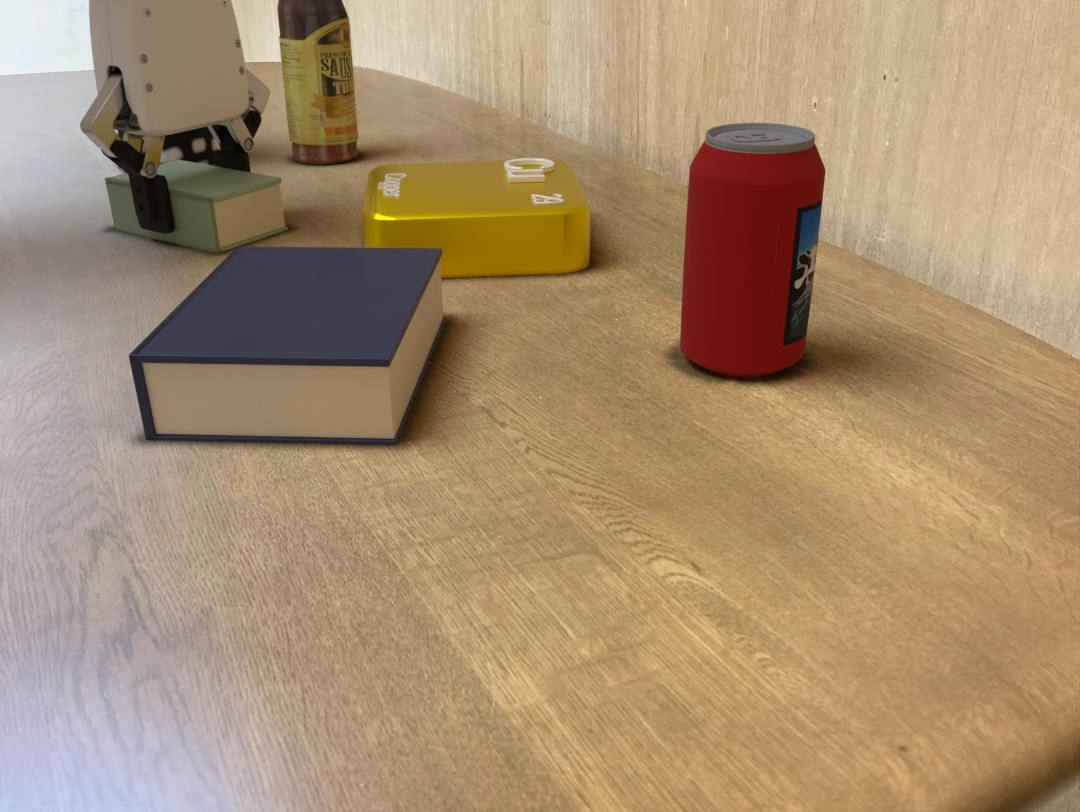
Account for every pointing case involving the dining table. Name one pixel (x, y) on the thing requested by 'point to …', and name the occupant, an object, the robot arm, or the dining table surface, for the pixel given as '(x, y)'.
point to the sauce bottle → (318, 80)
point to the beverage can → (750, 248)
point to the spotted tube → (187, 146)
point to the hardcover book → (206, 206)
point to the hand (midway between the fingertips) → (198, 216)
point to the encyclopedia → (294, 348)
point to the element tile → (482, 215)
